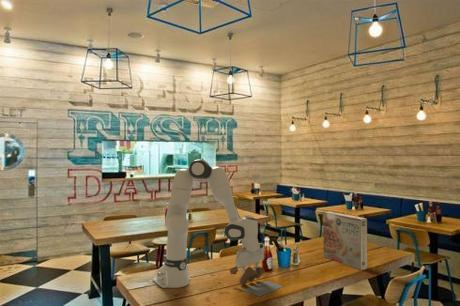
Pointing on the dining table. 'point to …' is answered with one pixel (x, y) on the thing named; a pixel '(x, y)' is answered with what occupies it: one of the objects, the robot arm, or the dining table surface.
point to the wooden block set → (248, 274)
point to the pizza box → (345, 239)
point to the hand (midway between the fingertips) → (250, 271)
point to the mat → (262, 288)
